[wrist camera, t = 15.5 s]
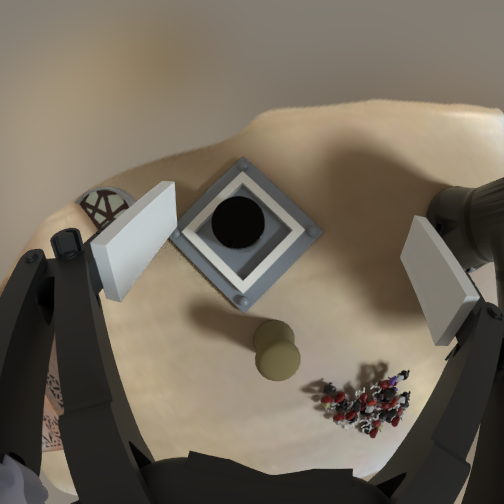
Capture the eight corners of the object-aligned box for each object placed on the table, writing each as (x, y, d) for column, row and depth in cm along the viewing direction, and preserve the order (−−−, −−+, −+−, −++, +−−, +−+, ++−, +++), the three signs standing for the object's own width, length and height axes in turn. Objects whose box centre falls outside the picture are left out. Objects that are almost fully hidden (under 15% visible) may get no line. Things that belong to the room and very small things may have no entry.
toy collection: (401, 347, 38) (412, 359, 34) (411, 410, 39) (420, 423, 34) (314, 381, 40) (317, 397, 36) (335, 439, 41) (338, 456, 36)
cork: (245, 332, 40) (240, 354, 29) (282, 312, 40) (290, 328, 29) (265, 365, 40) (267, 397, 29) (301, 346, 40) (315, 372, 29)
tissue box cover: (9, 325, 42) (-23, 332, 32) (42, 300, 42) (6, 304, 32) (64, 432, 40) (39, 452, 30) (105, 422, 40) (79, 447, 30)
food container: (180, 237, 41) (157, 227, 31) (153, 266, 41) (124, 265, 31) (131, 185, 42) (101, 165, 32) (107, 212, 42) (73, 200, 32)
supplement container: (229, 206, 40) (221, 189, 31) (269, 218, 40) (272, 204, 31) (216, 245, 40) (203, 239, 31) (256, 258, 39) (255, 256, 30)
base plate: (321, 232, 41) (326, 230, 38) (244, 311, 40) (243, 315, 37) (243, 159, 42) (242, 152, 39) (168, 234, 41) (162, 232, 38)
